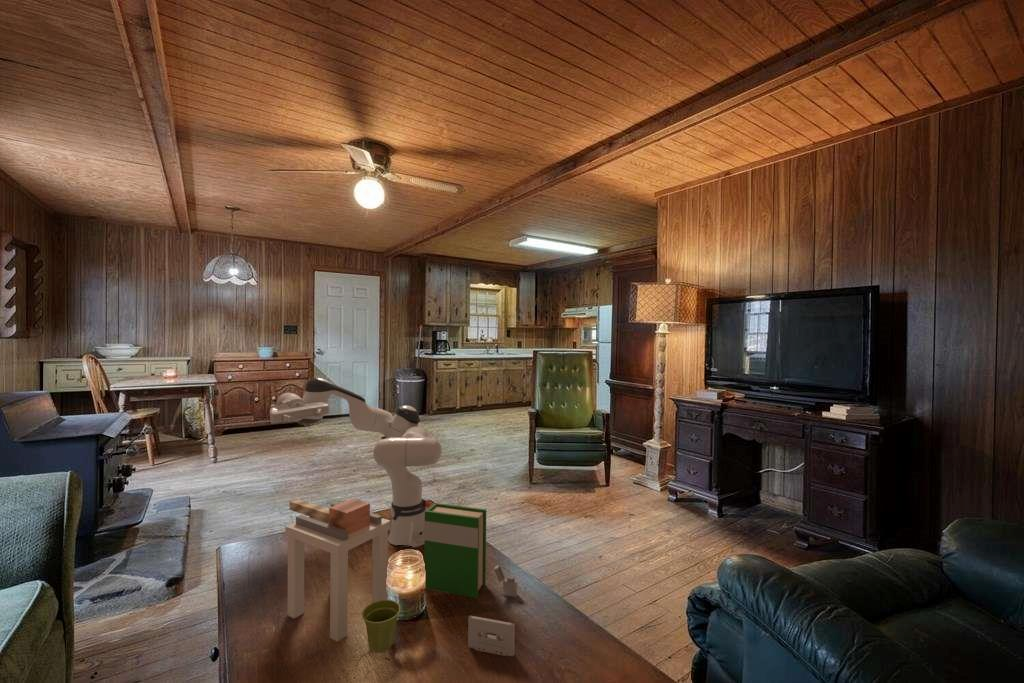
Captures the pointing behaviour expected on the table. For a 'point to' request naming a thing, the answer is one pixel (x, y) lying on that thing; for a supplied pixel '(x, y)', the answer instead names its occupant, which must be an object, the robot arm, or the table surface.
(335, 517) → the mallet
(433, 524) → the hardback book
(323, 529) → the stand
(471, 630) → the cassette
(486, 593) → the table surface
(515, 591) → the lighter
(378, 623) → the plant pot
